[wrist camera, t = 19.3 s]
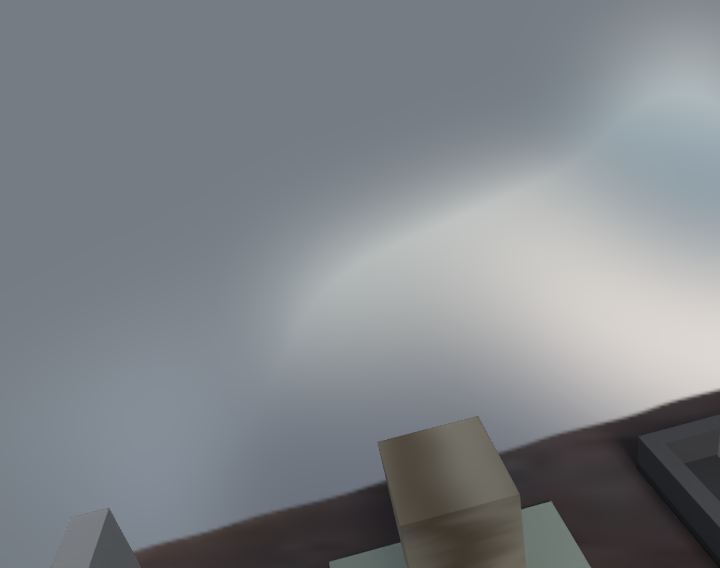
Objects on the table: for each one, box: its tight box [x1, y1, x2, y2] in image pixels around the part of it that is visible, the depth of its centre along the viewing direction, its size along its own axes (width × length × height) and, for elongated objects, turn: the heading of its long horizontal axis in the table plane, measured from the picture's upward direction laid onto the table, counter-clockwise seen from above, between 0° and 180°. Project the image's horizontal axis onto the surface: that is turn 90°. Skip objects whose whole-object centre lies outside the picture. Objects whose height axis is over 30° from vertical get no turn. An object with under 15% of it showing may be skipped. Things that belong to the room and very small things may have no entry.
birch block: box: [378, 416, 526, 568], centre depth 33 cm, size 6×6×11 cm
